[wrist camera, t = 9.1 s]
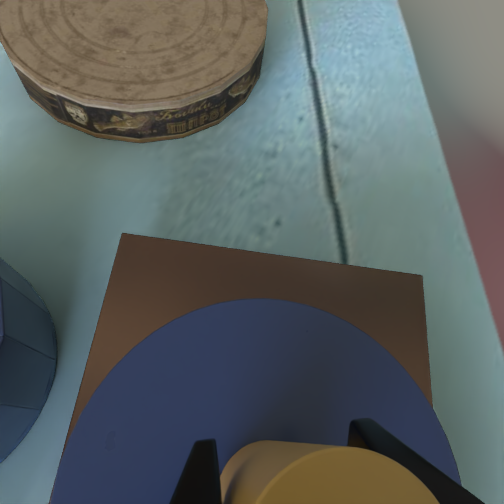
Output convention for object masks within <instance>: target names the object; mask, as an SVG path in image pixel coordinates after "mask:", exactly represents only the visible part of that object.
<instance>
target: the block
mask: <svg viewBox="0 0 504 504" xmlns="http://www.w3.org/2000/svg"><path fill="white" fill-rule="evenodd" d="M249 298H269V299H281V300H288V301H293V302H297V303H302V304H307V305H310V306H312V307H315V308H318V309H321V310H324V311H327V312H329V313H331V314H333V315H335V316H337V317H339V318H341V319H344V320H346V321H348V322H349V323H351V324H352V325H354V326H356V327H357V328H359V329H360V330H362V331H363V332H365V333H366V334H368V335H369V336H370V337H372V338H373V339H374V340H375V341H377V342H378V343H379V344H380V345H381V346H383V347H384V348H385V349H386V350H387V351H388V352H389V353H390V354H391V355H392V356H393V357H394V358H395V359H396V360H397V361H398V362H399V363H400V364H401V365H402V366H403V367H404V368H405V369H406V371H407V372H408V373H409V375H410V376H411V377H412V378H413V380H414V381H415V382H416V384H417V385H418V386H419V387H420V389H421V390H422V392H423V394H424V395H425V397H426V399H427V400H428V402H429V403H430V405H431V407H432V408H433V404H432V391H431V379H430V366H429V353H428V340H427V327H426V314H425V302H424V289H423V276H422V275H417V274H410V273H403V272H396V271H389V270H381V269H374V268H367V267H360V266H353V265H346V264H339V263H332V262H325V261H318V260H311V259H304V258H297V257H290V256H283V255H276V254H268V253H261V252H254V251H247V250H240V249H233V248H226V247H219V246H212V245H205V244H198V243H191V242H184V241H177V240H170V239H163V238H155V237H148V236H141V235H134V234H127V233H122V234H121V238H120V242H119V246H118V249H117V253H116V257H115V260H114V264H113V268H112V271H111V275H110V279H109V282H108V286H107V290H106V293H105V297H104V301H103V305H102V308H101V312H100V316H99V319H98V323H97V327H96V330H95V334H94V338H93V341H92V345H91V349H90V352H89V356H88V360H87V363H86V367H85V371H84V375H83V378H82V382H81V386H80V389H79V393H78V397H77V400H76V404H75V408H74V411H73V415H72V419H71V422H70V426H69V430H68V434H67V437H66V441H65V445H64V448H63V452H62V456H63V453H64V451H65V448H66V445H67V442H68V439H69V437H70V435H71V433H72V431H73V429H74V427H75V425H76V423H77V421H78V419H79V416H80V414H81V412H82V411H83V409H84V408H85V406H86V404H87V403H88V401H89V400H90V398H91V396H92V395H93V393H94V392H95V390H96V388H97V387H98V386H99V385H100V383H101V382H102V381H103V380H104V378H105V377H106V376H107V375H108V373H109V372H110V371H111V370H112V368H113V367H114V366H115V365H116V364H117V363H118V362H119V361H120V360H121V359H122V358H123V357H124V356H125V355H126V354H127V353H128V352H129V351H130V350H131V349H132V348H133V347H134V346H136V345H137V344H138V343H139V342H141V341H142V340H143V339H145V338H146V337H147V336H148V335H150V334H151V333H152V332H154V331H155V330H157V329H159V328H160V327H162V326H164V325H165V324H167V323H169V322H170V321H172V320H174V319H175V318H178V317H180V316H182V315H184V314H187V313H189V312H191V311H193V310H196V309H199V308H202V307H205V306H209V305H212V304H215V303H219V302H225V301H231V300H237V299H249ZM62 456H61V459H62ZM61 459H60V462H61ZM59 465H60V463H59ZM58 468H59V467H58ZM57 471H58V470H57ZM56 475H57V474H56ZM55 480H56V478H55ZM54 484H55V481H54ZM53 488H54V485H53ZM52 493H53V489H52ZM52 493H51V496H50V500H49V504H50V502H51V497H52Z"/></svg>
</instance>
